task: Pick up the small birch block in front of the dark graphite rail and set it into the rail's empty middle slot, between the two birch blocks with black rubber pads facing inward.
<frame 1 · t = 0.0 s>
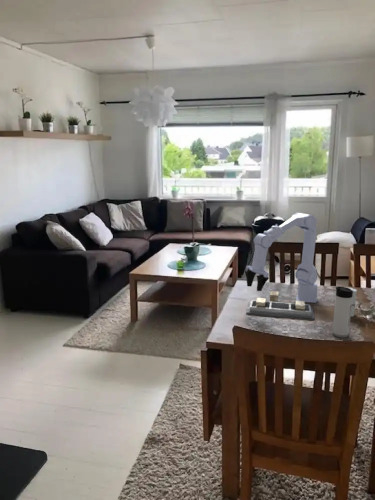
hand: (254, 288, 191), 11 cm above the table, tool pointing down, fingers open, 7 cm apart
birch block: (273, 302, 204), on the table
travel mug: (339, 335, 167), on the table
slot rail: (279, 311, 191), on the table
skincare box: (346, 314, 189), on the table
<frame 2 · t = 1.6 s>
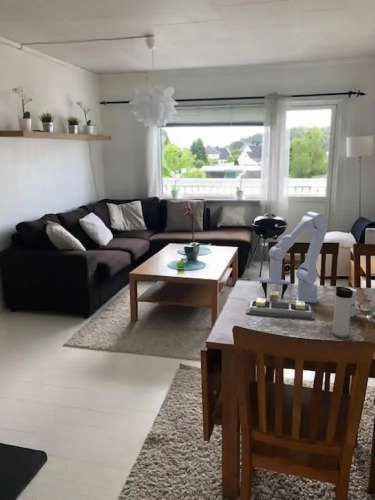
hand: (273, 298, 203), 2 cm above the table, tool pointing down, fingers open, 7 cm apart
nothing on the table moved.
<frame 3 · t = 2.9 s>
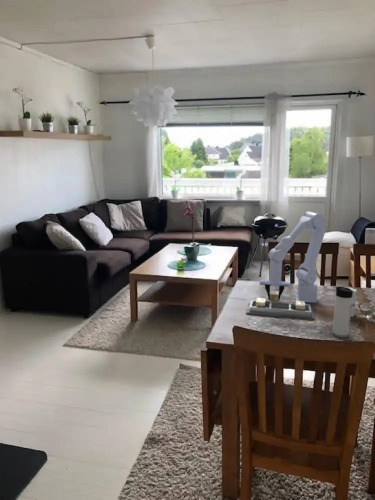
hand: (273, 299, 203), 1 cm above the table, tool pointing down, fingers closed on birch block, 4 cm apart
birch block: (273, 302, 204), on the table, touching gripper
everything else where it was.
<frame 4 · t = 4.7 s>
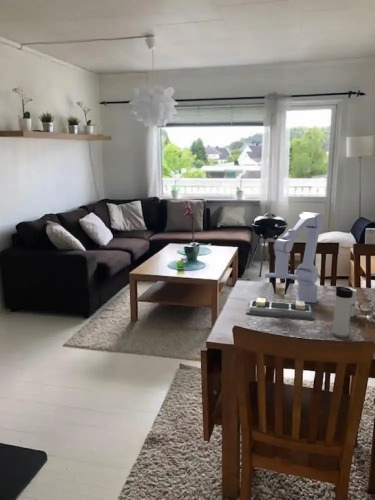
hand: (280, 293, 191), 8 cm above the table, tool pointing down, fingers closed on birch block, 4 cm apart
birch block: (279, 296, 191), point 7 cm above the table, touching gripper
everything else where it was.
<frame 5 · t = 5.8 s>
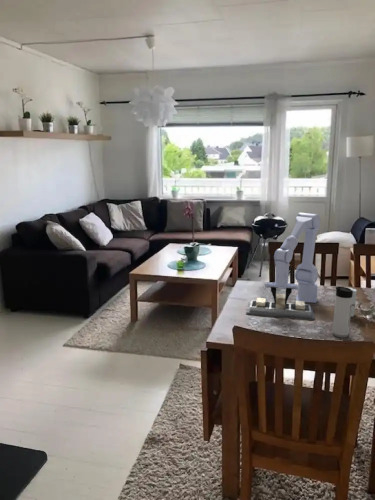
hand: (280, 303, 191), 4 cm above the table, tool pointing down, fingers closed on birch block, 4 cm apart
birch block: (280, 306, 191), point 3 cm above the table, touching gripper
everything else where it was.
when the fingers open (4 cm above the table, at t = 6.7 s): birch block drops 1 cm, resting on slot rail.
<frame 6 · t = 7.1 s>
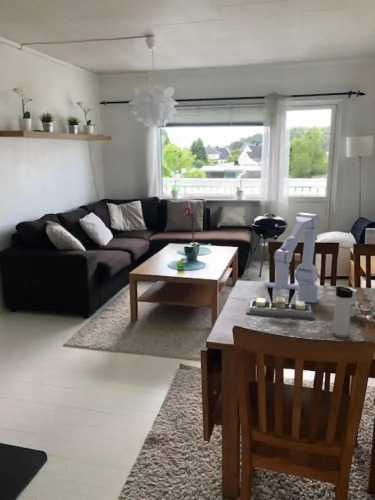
hand: (280, 303, 191), 4 cm above the table, tool pointing down, fingers open, 7 cm apart
birch block: (279, 309, 191), point 1 cm above the table, touching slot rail
everything else where it was.
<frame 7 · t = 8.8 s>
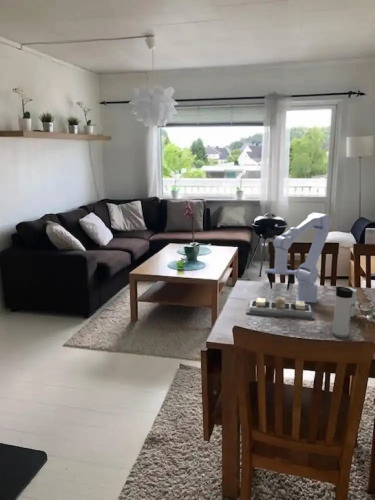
hand: (279, 288, 198), 8 cm above the table, tool pointing down, fingers open, 7 cm apart
nothing on the table moved.
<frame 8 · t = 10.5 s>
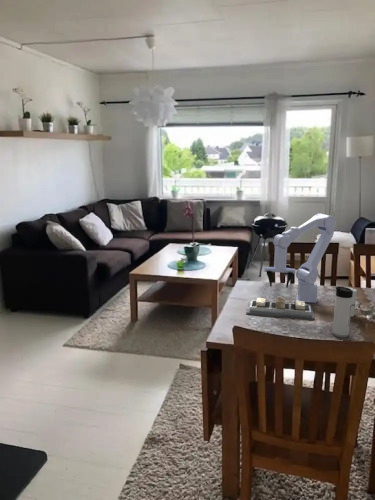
hand: (278, 286, 201), 8 cm above the table, tool pointing down, fingers open, 7 cm apart
nothing on the table moved.
at the end: birch block 0.2 cm off-centre on the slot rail, point 1.0 cm above the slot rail's base; birch block tilted 0°; the gripper is holding nothing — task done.
